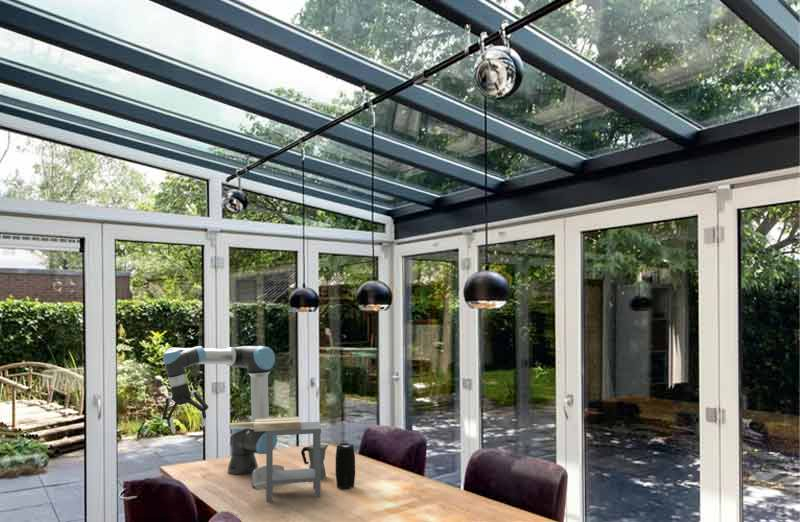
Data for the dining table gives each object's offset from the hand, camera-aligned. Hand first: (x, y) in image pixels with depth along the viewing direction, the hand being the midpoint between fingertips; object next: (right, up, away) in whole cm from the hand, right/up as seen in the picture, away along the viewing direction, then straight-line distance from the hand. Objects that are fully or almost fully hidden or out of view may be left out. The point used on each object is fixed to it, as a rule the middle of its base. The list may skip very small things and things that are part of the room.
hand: (189, 429), depth 280 cm
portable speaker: (+70, -29, +7) cm, 76 cm away
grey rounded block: (+33, -31, +15) cm, 47 cm away
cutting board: (+35, +1, -2) cm, 35 cm away
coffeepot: (+54, -31, +25) cm, 67 cm away
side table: (+48, -29, -2) cm, 56 cm away
